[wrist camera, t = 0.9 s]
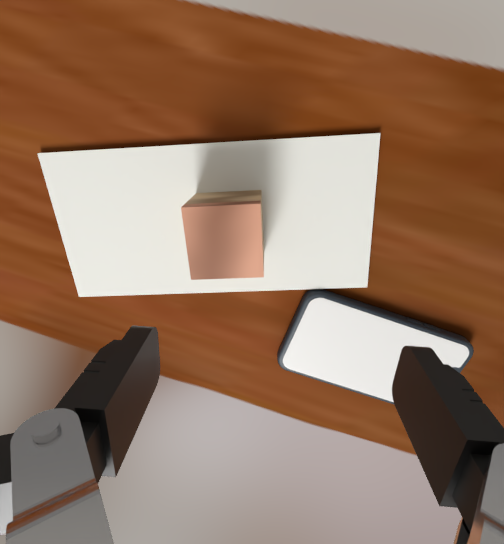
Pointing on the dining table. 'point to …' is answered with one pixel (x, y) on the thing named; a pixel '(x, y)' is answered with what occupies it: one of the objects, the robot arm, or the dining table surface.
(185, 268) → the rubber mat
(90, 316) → the dining table surface
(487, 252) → the dining table surface
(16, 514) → the robot arm
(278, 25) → the dining table surface
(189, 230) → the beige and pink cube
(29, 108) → the dining table surface
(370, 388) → the phone case
